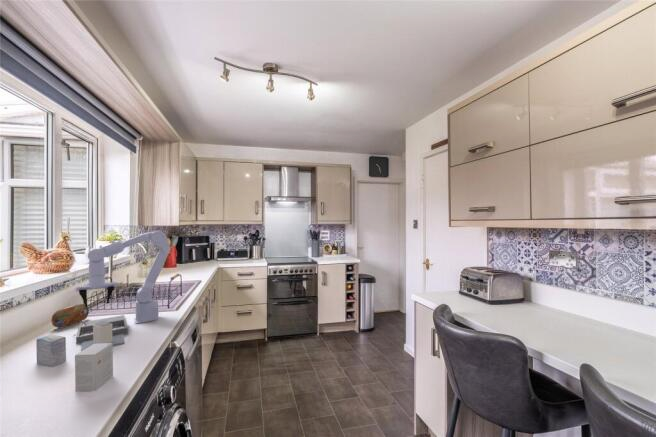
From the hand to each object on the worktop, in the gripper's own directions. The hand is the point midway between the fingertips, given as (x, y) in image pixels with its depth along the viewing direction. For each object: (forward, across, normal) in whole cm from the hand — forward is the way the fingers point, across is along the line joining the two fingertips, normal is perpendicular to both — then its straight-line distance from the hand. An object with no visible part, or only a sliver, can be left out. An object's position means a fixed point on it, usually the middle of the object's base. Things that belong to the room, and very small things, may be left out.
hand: (97, 304), depth 132 cm
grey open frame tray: (+10, -2, +3) cm, 11 cm away
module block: (+10, -2, +23) cm, 25 cm away
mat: (+10, -2, +24) cm, 26 cm away
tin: (+11, +10, -14) cm, 20 cm away
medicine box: (+11, +12, +32) cm, 36 cm away
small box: (+11, 0, +58) cm, 59 cm away
